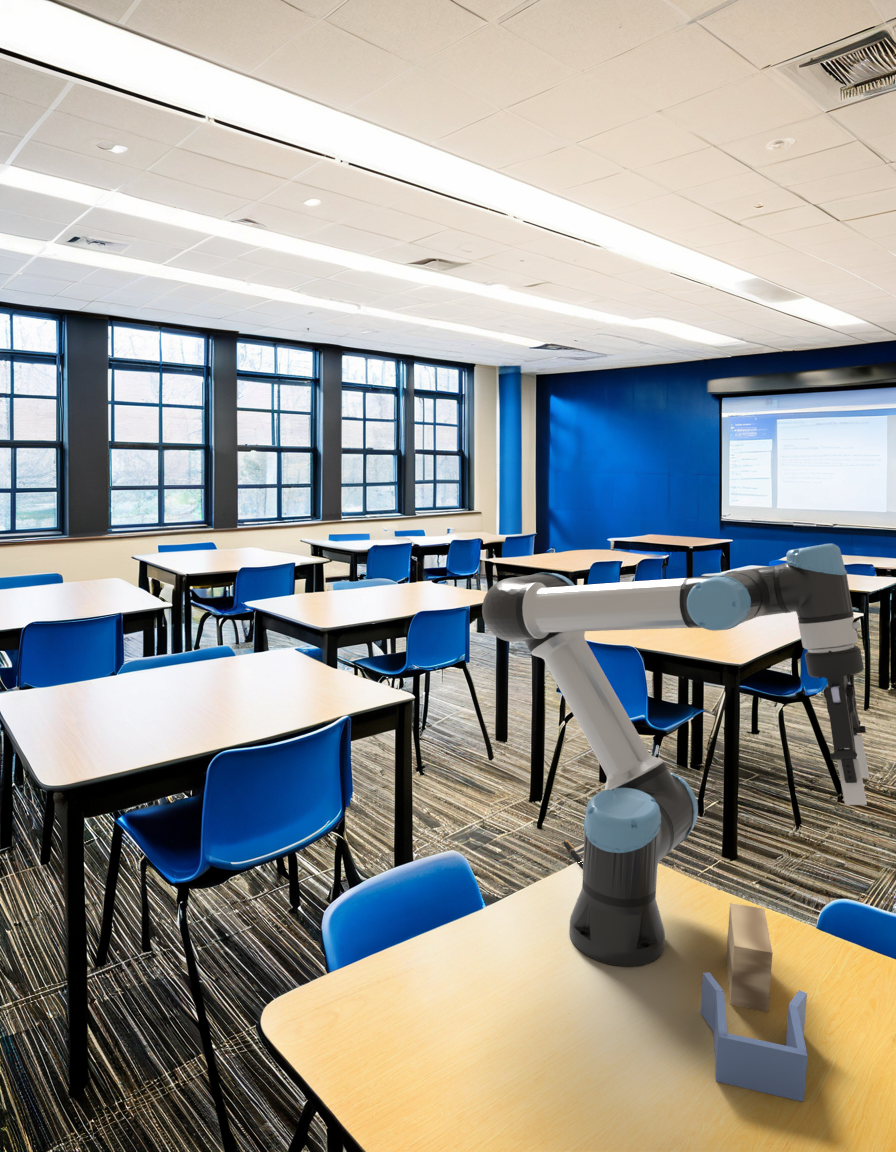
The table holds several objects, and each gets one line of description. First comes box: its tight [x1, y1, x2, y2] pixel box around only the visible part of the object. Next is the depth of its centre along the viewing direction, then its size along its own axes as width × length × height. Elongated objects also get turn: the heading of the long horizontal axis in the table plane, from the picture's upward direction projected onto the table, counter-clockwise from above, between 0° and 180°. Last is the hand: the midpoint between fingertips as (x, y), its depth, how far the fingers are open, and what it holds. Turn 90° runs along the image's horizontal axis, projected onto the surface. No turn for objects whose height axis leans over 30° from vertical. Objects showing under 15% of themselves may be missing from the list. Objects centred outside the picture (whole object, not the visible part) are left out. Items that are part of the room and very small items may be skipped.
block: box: [725, 902, 773, 1013], centre depth 114 cm, size 5×12×9 cm, turn 163°
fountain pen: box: [562, 839, 583, 869], centre depth 151 cm, size 14×1×2 cm, turn 12°
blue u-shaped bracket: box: [699, 971, 808, 1103], centre depth 99 cm, size 13×13×6 cm
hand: (857, 790), depth 113 cm, fingers open, 13 cm apart
